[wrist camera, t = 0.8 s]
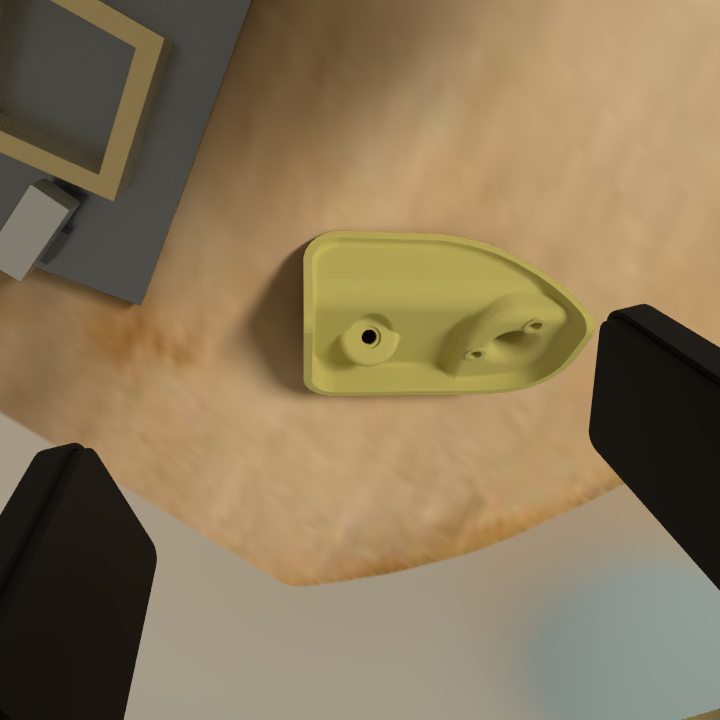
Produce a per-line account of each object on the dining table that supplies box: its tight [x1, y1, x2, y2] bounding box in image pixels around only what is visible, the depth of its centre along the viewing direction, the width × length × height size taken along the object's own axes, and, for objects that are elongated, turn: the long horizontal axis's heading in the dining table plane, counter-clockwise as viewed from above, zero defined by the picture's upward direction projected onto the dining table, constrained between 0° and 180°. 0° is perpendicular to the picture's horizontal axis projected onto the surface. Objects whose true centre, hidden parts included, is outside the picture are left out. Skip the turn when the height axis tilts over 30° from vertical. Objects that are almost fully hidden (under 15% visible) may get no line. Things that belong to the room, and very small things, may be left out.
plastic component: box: [303, 231, 595, 396], centre depth 36 cm, size 20×7×10 cm
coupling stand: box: [0, 0, 252, 305], centre depth 25 cm, size 22×14×4 cm, turn 151°
